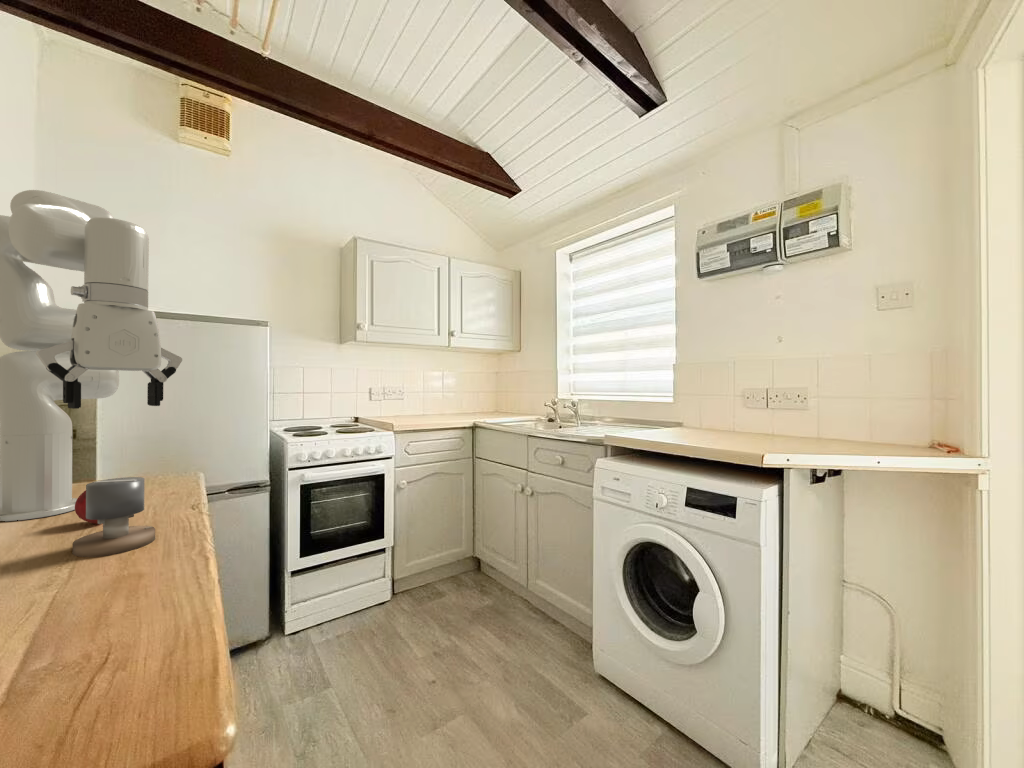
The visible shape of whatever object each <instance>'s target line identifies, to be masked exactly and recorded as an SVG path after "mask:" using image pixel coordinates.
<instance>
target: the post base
mask: <svg viewBox="0 0 1024 768" xmlns="http://www.w3.org/2000/svg"><path fill="white" fill-rule="evenodd" d="M134 517H135V514H133V515H129V516H124V517H119V518H113V519H103V520H97V523H98V524H97V525H102V530H100V531H98V532H92V533H89V534H86V535H83V536H82V537H81V536H80V537H78V538H77V539H76V540H74V541H72V555H74V556H76V557H80V558H96V557H97V558H98V557H104V556H112V555H117V554H123V553H126V552H130V551H133V550H136V549H139V548H142V547H145V546H147V545H150V544H151V543H153V542H154V541H155V540H156V528H155V527H154V526H151V525H150V526H149V525H133V526H132V525H130V524H129V520H130V518H134Z"/></svg>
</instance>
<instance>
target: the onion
mask: <svg viewBox="0 0 1024 768" xmlns="http://www.w3.org/2000/svg"><path fill="white" fill-rule="evenodd" d="M99 481H101V480H99ZM74 512H75V514H76V515H77V517H78V518H79V519H80V520H83V521H85V522H87V523H89V524H93V525H99V524H98V523H97V520H90V519H86V489H85V490H84V491H83V492H82V493H80V495H79V496H78V497H77V500H76V503H75V510H74Z"/></svg>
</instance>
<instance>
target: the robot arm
mask: <svg viewBox="0 0 1024 768" xmlns="http://www.w3.org/2000/svg"><path fill="white" fill-rule="evenodd" d="M9 207H10V211H11V216H9V215H1V214H0V341H1V342H2V344H4V345H5V346H6V347H8V348H10V349H14V350H17V351H13V352H9V353H6V354H3V355H1V356H0V521H5V522H17V520H18V521H25V520H26V521H27V520H33V519H41V518H46V517H50V516H51V517H53V516H56V515H60V514H65V513H68V512H72V511H75V503H76V500H77V499H78V497H73V421H72V419H71V417H70V415H68V413H66V412H65V411H64V410H63V409H62V408H61V407H60V406H59V405H57V404H56V402H55V401H62V403H63V404H67V408H68V409H73V410H74V409H76V410H77V409H81V408H82V400H92V399H94V400H97V399H104V398H109V397H111V396H113V395H115V393H116V392H117V390H118V388H119V385H120V374H119V371H126V372H127V371H132V372H133V371H134V372H135V371H137V372H138V371H142V372H143V373H144V374H145V375H146V376H147V377H148V378H149V379H150V381H149V382H148V383H147V405H148V406H151V407H160V406H161V402H162V401H164V383H165V382H167V380H168V379H169V378H170V377H171V376H172V375H174V374H175V373H176V372H177V369H178V368H179V366H180V365H181V363H182V362H183V358H182V357H181V356H179V355H177V354H175V353H173V352H171V351H169V350H167V349H165V348H163V347H161V338H160V337H161V336H160V330H159V324H158V320H157V317H156V312H155V311H153V310H149V262H150V261H149V255H150V254H149V252H150V251H149V250H150V249H149V248H150V246H149V244H150V241H149V240H150V239H149V234H148V232H147V231H146V229H144V228H143V227H142V226H140V225H138V224H135V223H132V222H129V221H127V220H123V219H120V218H114V216H113V214H112V213H110V212H109V211H108V210H107V209H105V208H104V207H101V206H98V205H96V204H92V203H88V202H85V201H81V200H78V199H75V198H71V197H67V196H64V195H60V194H57V193H54V192H50V191H45V190H39V189H28V190H22V191H20V192H18V193H16V194H15V195H14V196H13V197H12V199H11V200H10V206H9ZM25 263H29V264H30V263H31V264H35V265H41V266H48V267H52V268H58V269H64V270H70V271H76V272H77V271H78V272H83V273H84V274H83V275H84V277H83V279H84V280H83V284H82V286H80V285H79V286H71V287H70V295H71V296H76V297H79V298H80V299H82V302H83V303H82V302H81V303H79V304H78V305H77V308H76V309H74V308H67V307H66V308H65V307H60V306H59V305H57V304H56V301H55V295H54V291H53V289H52V286H51V285H50V284H49V283H48V282H47V281H46V280H45V278H43V277H42V276H41V275H40V274H38V273H37V272H36V271H35V270H33V269H32V268H30V267H29V266H27V265H26V264H25ZM18 350H19V351H18ZM162 358H163V359H164V360H166V361H168V363H167V364H166V366H165V367H164V368H163V369H161V370H160V367H161V366H162Z"/></svg>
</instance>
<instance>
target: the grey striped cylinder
mask: <svg viewBox="0 0 1024 768" xmlns="http://www.w3.org/2000/svg"><path fill="white" fill-rule="evenodd" d="M85 490H86V519H90V520H103V519H113V518H119V517H124V516H129V515H133V514H134V515H136V514H139V513H141V512H143V511H145V478H144V477H141V476H140V477H139V476H138V477H137V476H132V477H131V476H129V477H126V476H125V477H117V478H108V479H102V480H101V481H100V480H96V481H92V482H89V483H87V484H86V485H85Z"/></svg>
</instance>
